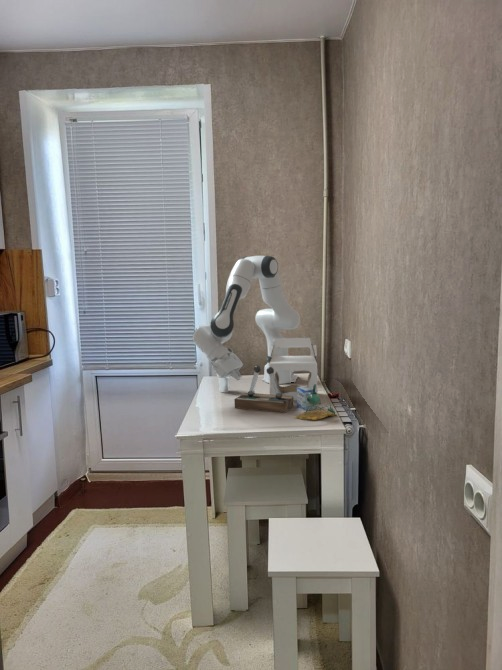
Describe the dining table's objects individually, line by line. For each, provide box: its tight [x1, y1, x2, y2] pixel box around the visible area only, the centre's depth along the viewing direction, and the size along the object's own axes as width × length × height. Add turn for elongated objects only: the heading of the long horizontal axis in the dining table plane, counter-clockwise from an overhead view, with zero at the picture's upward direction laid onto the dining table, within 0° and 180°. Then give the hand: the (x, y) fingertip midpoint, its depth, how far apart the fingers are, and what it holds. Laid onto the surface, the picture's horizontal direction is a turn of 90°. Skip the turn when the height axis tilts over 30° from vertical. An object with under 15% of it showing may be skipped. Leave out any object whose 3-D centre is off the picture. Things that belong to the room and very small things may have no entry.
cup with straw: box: [214, 371, 232, 393], centre depth 238 cm, size 8×9×20 cm
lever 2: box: [267, 367, 283, 399], centre depth 207 cm, size 3×3×14 cm
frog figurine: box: [294, 384, 338, 421], centre depth 193 cm, size 10×18×15 cm, turn 88°
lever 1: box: [247, 365, 262, 397], centre depth 211 cm, size 3×3×14 cm
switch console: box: [234, 392, 294, 414], centre depth 210 cm, size 12×24×4 cm, turn 68°
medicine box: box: [296, 385, 315, 412], centre depth 207 cm, size 8×4×9 cm, turn 22°
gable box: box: [268, 337, 318, 401], centre depth 224 cm, size 22×13×28 cm, turn 85°
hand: (240, 379), depth 213 cm, fingers closed
